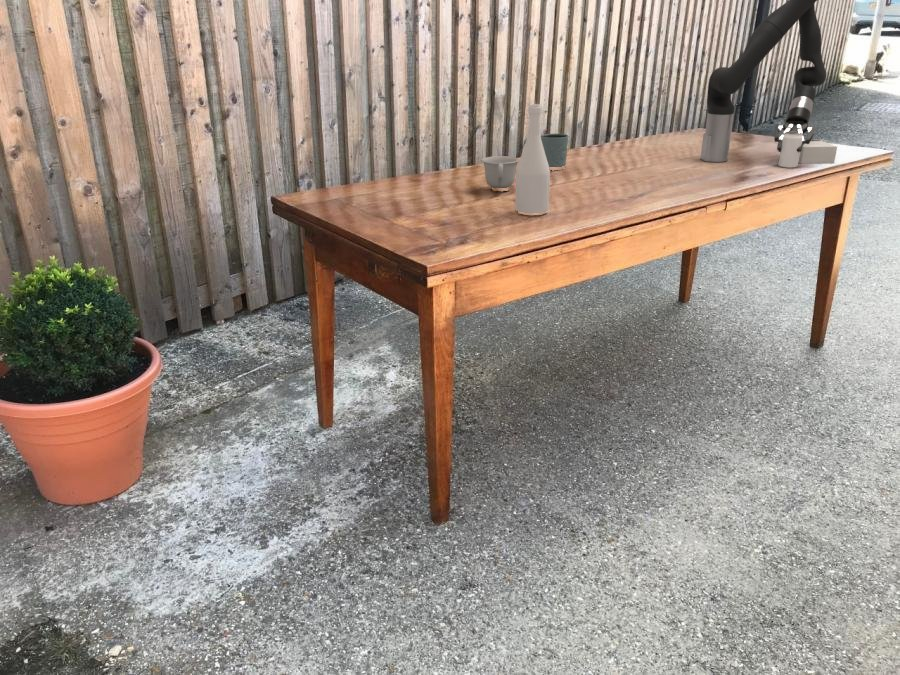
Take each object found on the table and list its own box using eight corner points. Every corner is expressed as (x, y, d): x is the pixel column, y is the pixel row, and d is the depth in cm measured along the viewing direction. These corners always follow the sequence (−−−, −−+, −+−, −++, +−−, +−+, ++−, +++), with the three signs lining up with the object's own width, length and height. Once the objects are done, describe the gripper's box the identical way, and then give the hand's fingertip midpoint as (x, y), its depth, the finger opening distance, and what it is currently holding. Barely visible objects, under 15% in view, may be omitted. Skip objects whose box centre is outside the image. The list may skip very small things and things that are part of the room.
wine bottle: (547, 208, 212) (551, 102, 200) (549, 217, 204) (553, 106, 191) (515, 208, 213) (517, 102, 201) (515, 217, 204) (517, 106, 192)
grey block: (801, 163, 267) (804, 147, 264) (788, 157, 277) (790, 141, 275) (834, 163, 266) (837, 146, 264) (819, 157, 277) (822, 141, 275)
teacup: (481, 196, 228) (481, 164, 224) (481, 186, 241) (482, 156, 237) (519, 196, 227) (520, 164, 223) (518, 186, 240) (518, 155, 236)
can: (800, 168, 259) (806, 133, 254) (782, 168, 259) (788, 134, 254) (792, 164, 265) (798, 131, 260) (775, 164, 265) (780, 131, 260)
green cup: (568, 171, 262) (570, 137, 257) (540, 171, 262) (542, 137, 257) (564, 165, 271) (566, 133, 266) (537, 166, 271) (538, 133, 266)
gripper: (778, 105, 263) (767, 143, 259) (821, 107, 256) (810, 146, 252) (778, 118, 269) (767, 155, 265) (820, 120, 263) (809, 159, 258)
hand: (788, 151), depth 258 cm, fingers closed on can, 5 cm apart
